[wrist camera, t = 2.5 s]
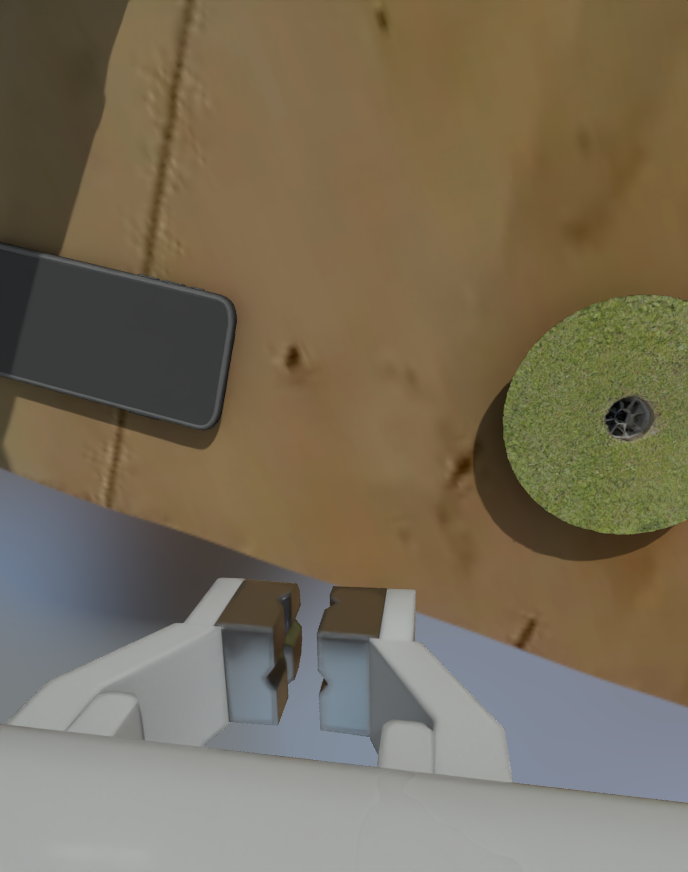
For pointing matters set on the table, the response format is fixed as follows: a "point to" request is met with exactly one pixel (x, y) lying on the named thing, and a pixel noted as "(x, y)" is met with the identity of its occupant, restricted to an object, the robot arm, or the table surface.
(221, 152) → the table surface
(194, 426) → the smartphone
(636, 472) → the green flat disc
